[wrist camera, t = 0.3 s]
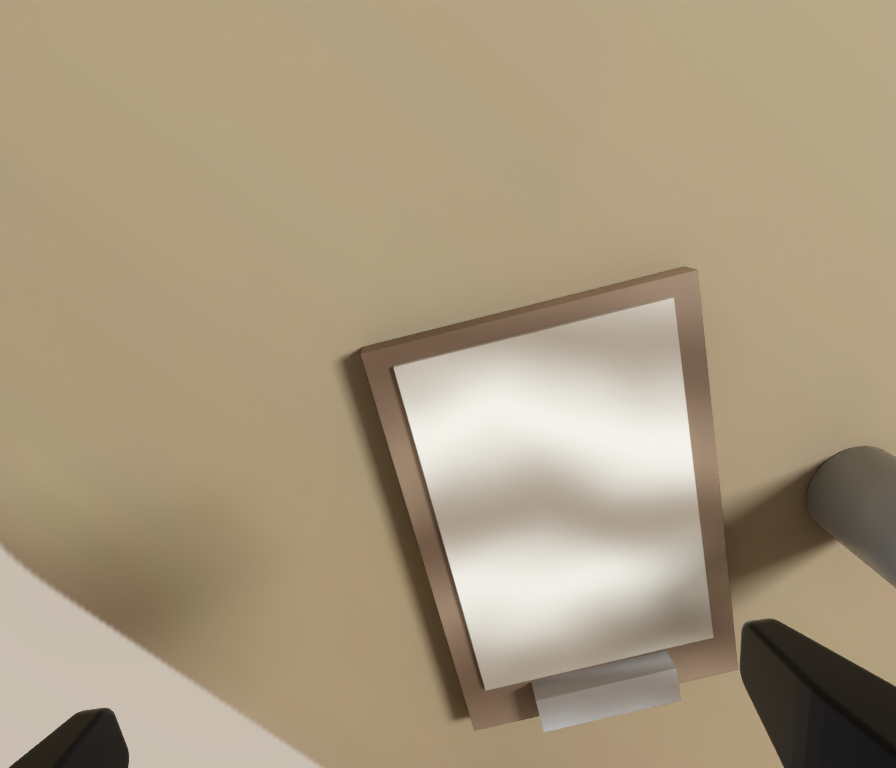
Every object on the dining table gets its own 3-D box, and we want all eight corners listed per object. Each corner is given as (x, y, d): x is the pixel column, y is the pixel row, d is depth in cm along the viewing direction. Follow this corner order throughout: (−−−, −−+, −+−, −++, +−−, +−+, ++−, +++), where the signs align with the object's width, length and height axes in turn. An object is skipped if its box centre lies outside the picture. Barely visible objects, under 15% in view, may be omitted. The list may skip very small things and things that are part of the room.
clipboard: (726, 652, 26) (750, 688, 25) (472, 712, 27) (476, 751, 25) (684, 266, 21) (711, 273, 19) (363, 346, 21) (357, 361, 19)
